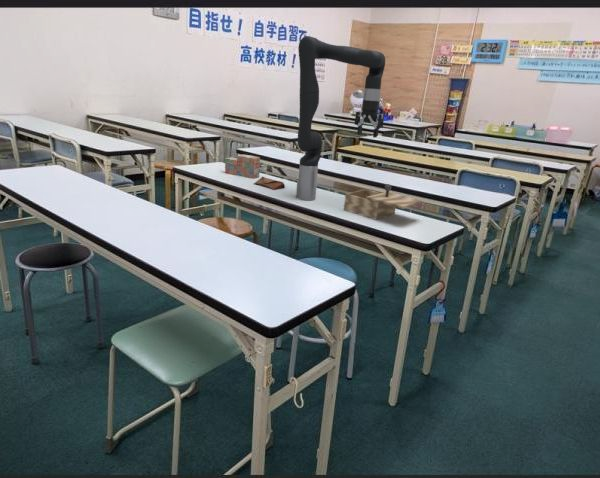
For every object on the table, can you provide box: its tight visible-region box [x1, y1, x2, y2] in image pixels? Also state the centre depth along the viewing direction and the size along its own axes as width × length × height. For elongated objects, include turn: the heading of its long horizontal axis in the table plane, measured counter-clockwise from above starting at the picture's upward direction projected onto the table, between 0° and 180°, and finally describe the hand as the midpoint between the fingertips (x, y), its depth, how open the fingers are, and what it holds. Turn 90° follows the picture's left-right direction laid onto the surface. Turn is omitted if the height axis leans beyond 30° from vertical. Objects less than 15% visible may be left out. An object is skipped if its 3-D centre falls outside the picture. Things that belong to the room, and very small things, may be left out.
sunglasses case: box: [253, 176, 286, 191], centre depth 244 cm, size 18×7×7 cm, turn 49°
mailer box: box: [343, 188, 397, 221], centre depth 206 cm, size 18×16×8 cm
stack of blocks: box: [224, 153, 261, 180], centre depth 263 cm, size 21×6×12 cm, turn 61°
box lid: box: [366, 184, 423, 210], centre depth 196 cm, size 19×16×7 cm
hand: (367, 136), depth 203 cm, fingers open, 8 cm apart
